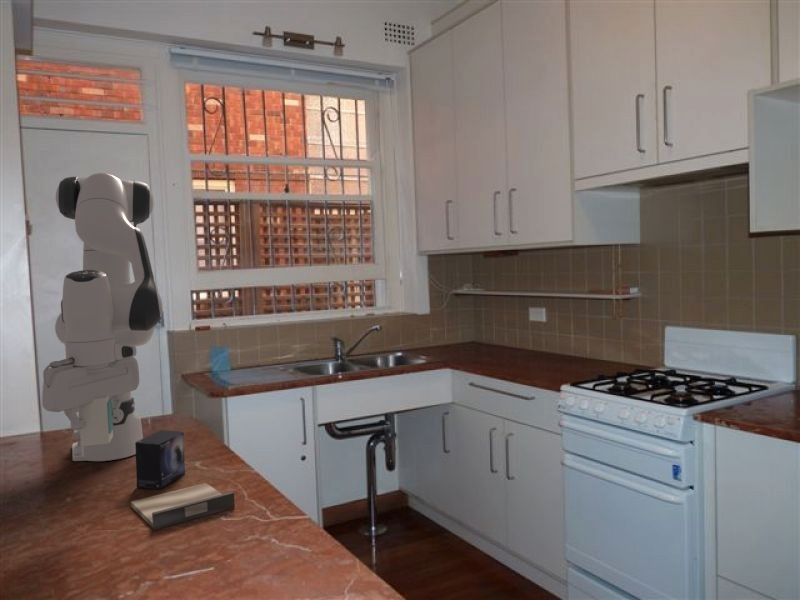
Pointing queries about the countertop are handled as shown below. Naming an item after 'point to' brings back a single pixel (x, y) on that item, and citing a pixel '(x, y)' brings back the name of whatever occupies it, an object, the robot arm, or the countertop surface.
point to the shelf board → (182, 505)
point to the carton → (96, 422)
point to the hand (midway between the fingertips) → (96, 422)
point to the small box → (160, 459)
